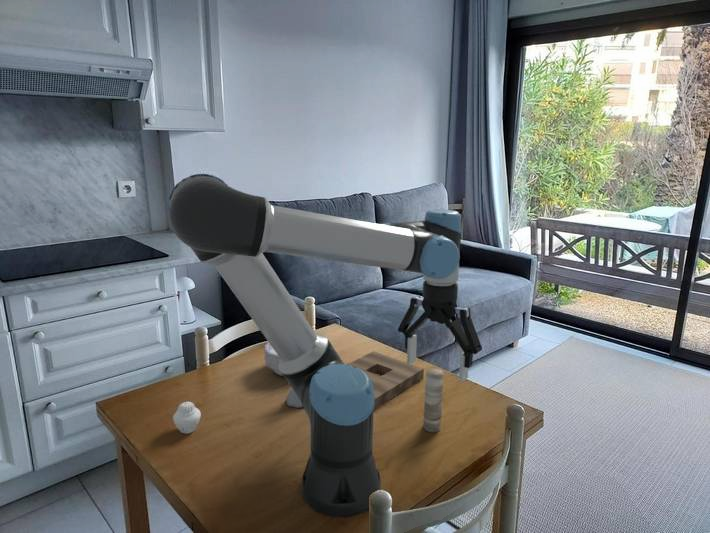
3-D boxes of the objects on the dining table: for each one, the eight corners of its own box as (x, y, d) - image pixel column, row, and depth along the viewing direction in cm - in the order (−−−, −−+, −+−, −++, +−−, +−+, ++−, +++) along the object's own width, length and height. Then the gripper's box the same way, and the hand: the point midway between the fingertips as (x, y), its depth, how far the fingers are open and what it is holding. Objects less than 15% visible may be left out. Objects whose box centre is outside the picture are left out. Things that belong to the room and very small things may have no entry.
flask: (312, 409, 124) (312, 372, 122) (283, 408, 124) (282, 371, 122) (315, 394, 131) (315, 359, 129) (288, 394, 131) (287, 359, 129)
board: (371, 411, 123) (371, 400, 123) (318, 388, 134) (318, 378, 134) (423, 378, 141) (423, 368, 141) (373, 360, 152) (373, 351, 152)
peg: (435, 434, 114) (438, 378, 111) (419, 427, 117) (422, 373, 113) (444, 426, 117) (447, 372, 114) (428, 420, 120) (431, 367, 116)
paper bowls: (259, 364, 149) (258, 339, 147) (307, 355, 155) (306, 331, 153) (273, 386, 136) (272, 359, 134) (325, 376, 142) (325, 350, 140)
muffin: (186, 440, 111) (184, 412, 109) (168, 432, 114) (165, 404, 112) (207, 427, 116) (205, 400, 114) (189, 419, 119) (187, 393, 117)
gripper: (502, 288, 103) (495, 381, 109) (403, 268, 119) (400, 350, 124) (486, 296, 98) (479, 394, 103) (384, 274, 113) (382, 360, 119)
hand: (436, 370), depth 114 cm, fingers open, 13 cm apart
